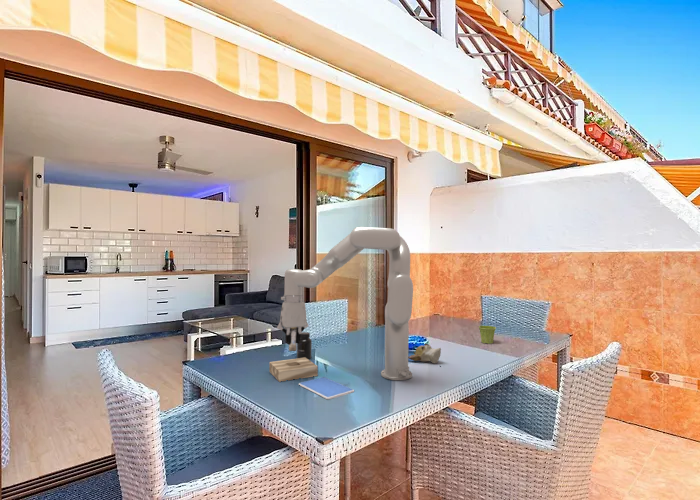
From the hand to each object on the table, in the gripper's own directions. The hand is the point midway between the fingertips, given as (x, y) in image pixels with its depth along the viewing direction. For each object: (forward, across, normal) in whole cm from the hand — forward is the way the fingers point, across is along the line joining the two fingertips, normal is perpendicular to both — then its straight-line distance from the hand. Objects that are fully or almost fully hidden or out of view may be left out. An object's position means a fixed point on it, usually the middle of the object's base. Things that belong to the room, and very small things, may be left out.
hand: (292, 343), depth 159 cm
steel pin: (+3, 0, 0) cm, 3 cm away
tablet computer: (+13, +6, -21) cm, 26 cm away
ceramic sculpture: (+13, +61, -10) cm, 63 cm away
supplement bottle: (+13, +12, +19) cm, 26 cm away
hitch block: (+13, 0, 0) cm, 13 cm away
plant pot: (+12, +115, +4) cm, 116 cm away
